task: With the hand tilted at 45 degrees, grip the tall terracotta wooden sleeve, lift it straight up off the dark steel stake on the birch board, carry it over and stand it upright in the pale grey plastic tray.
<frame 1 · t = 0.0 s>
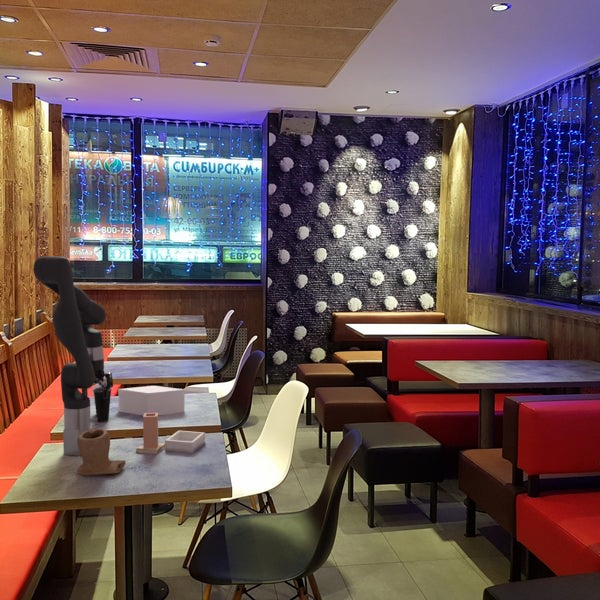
hand: (95, 397, 254), 17 cm above the table, tool pointing down, fingers open, 8 cm apart
soft serve ice cream cone: (101, 414, 295), on the table
sleeve: (150, 445, 246), point 1 cm above the table, touching stake board
block: (151, 412, 299), on the table
brown hollow piece: (99, 474, 221), on the table
stake: (150, 437, 245), on the stake board, point 5 cm above the table
drinking cup: (102, 420, 284), on the table
tray: (185, 446, 250), on the table
stake board: (150, 449, 246), on the table
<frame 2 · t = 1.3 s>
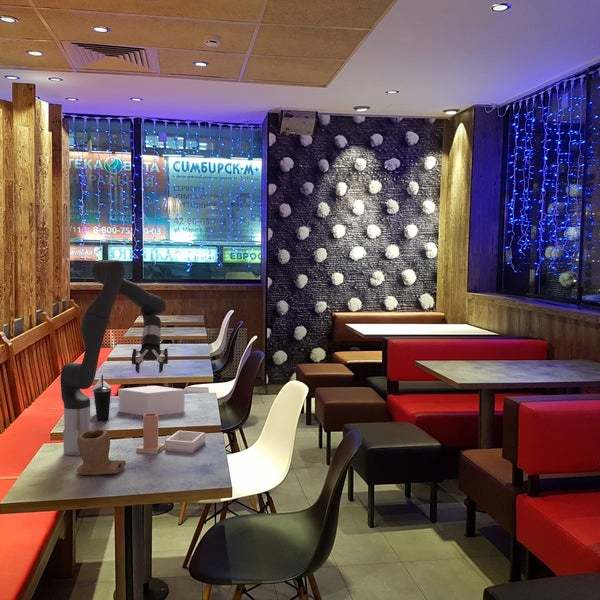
hand: (149, 372, 259), 26 cm above the table, tool tilted 45°, fingers open, 8 cm apart
nothing on the table moved.
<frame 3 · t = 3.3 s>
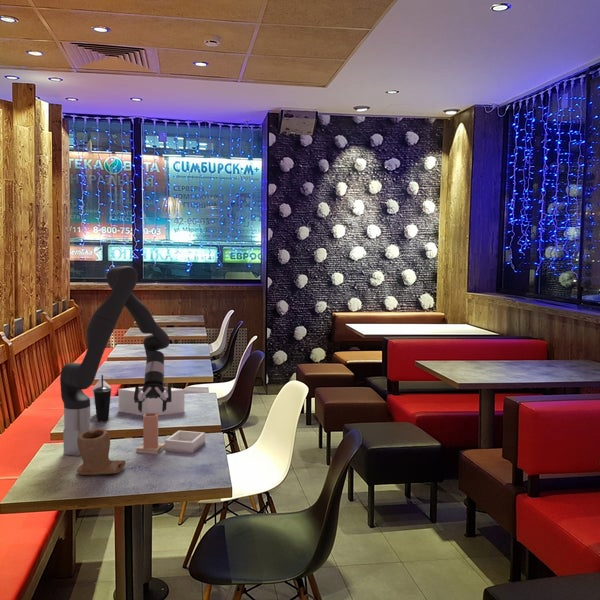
hand: (152, 410, 250), 13 cm above the table, tool tilted 45°, fingers open, 8 cm apart
nothing on the table moved.
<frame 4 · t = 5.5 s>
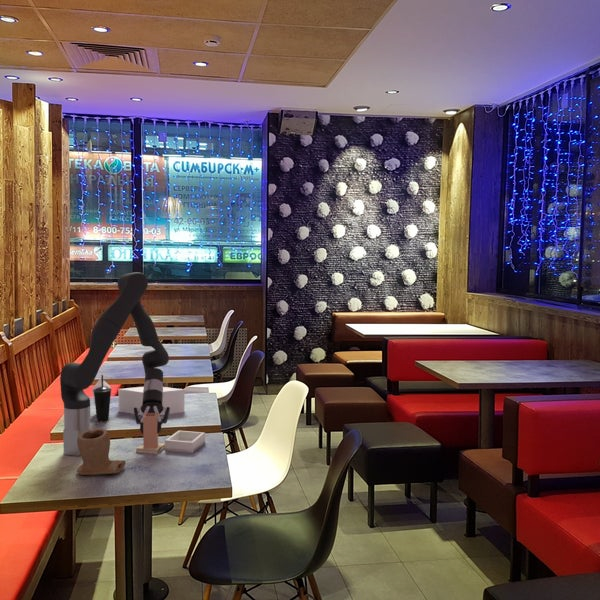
hand: (150, 432, 243), 7 cm above the table, tool tilted 45°, fingers closed on sleeve, 5 cm apart
sleeve: (150, 445, 246), point 2 cm above the table, touching gripper, stake board
everything else where it was.
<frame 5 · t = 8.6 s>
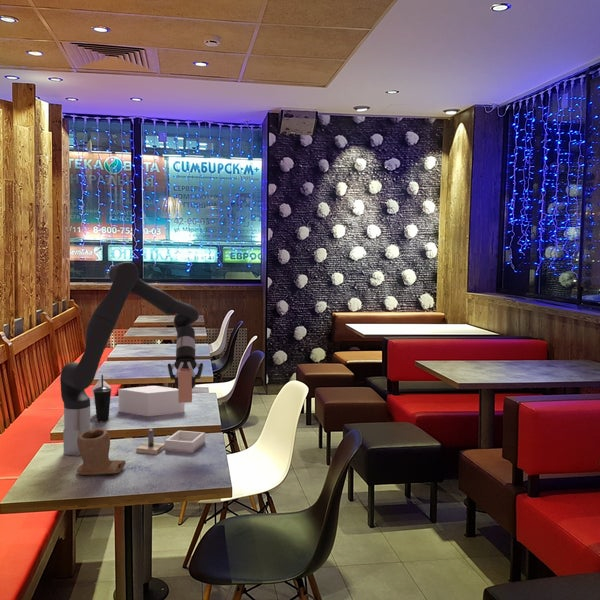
hand: (185, 387, 247), 23 cm above the table, tool tilted 45°, fingers closed on sleeve, 5 cm apart
sleeve: (185, 400, 249), point 18 cm above the table, touching gripper
everything else where it was.
when the fingers open (8 cm above the table, at t = 12.0 s): sleeve drops 1 cm, resting on tray.
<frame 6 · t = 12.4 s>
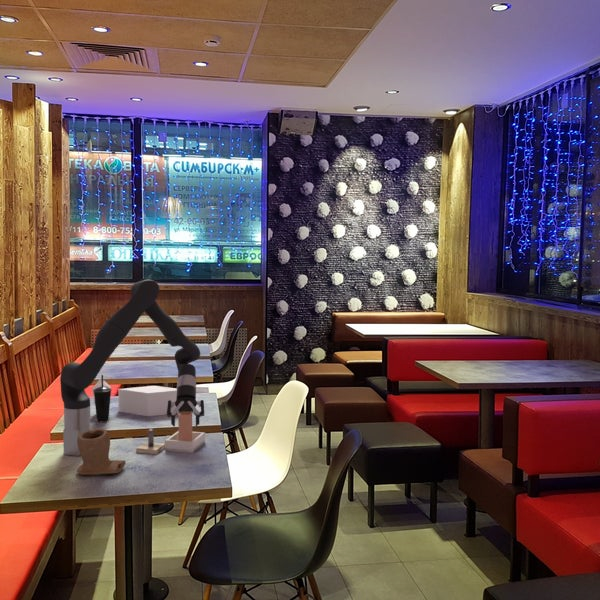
hand: (185, 425, 248), 9 cm above the table, tool tilted 45°, fingers open, 8 cm apart
sleeve: (185, 444, 250), point 1 cm above the table, touching tray
everything else where it was.
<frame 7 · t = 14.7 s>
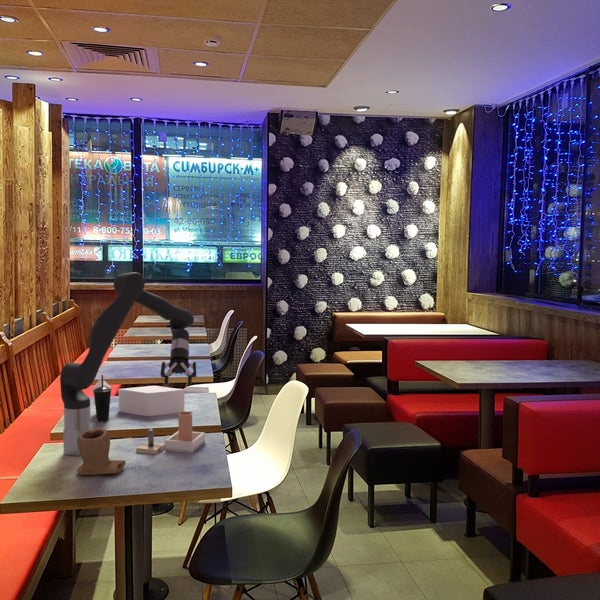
hand: (177, 385, 260), 21 cm above the table, tool tilted 45°, fingers open, 8 cm apart
nothing on the table moved.
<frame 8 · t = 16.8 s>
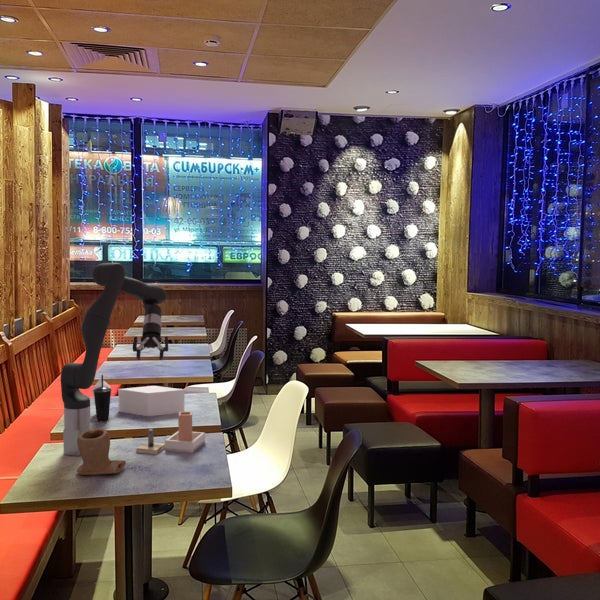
hand: (149, 358, 264), 31 cm above the table, tool tilted 45°, fingers open, 8 cm apart
nothing on the table moved.
at the end: sleeve 0.0 cm off-centre on the tray, point 1.0 cm above the tray's base; sleeve tilted 0°; the gripper is holding nothing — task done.
